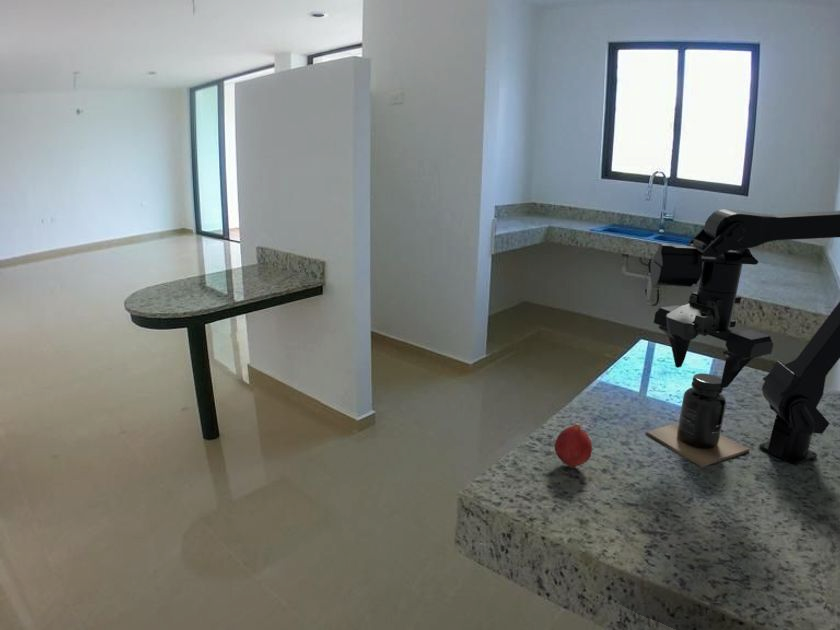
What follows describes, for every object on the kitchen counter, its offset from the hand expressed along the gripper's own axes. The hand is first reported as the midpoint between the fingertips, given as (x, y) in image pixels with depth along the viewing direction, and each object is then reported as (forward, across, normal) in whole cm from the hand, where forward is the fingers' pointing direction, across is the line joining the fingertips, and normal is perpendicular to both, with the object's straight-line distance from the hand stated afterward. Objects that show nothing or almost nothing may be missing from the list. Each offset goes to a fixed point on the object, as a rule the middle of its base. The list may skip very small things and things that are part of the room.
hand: (700, 376), depth 98 cm
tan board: (+13, 0, +2) cm, 13 cm away
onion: (+14, -3, -24) cm, 28 cm away
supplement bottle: (+13, 0, +2) cm, 13 cm away
